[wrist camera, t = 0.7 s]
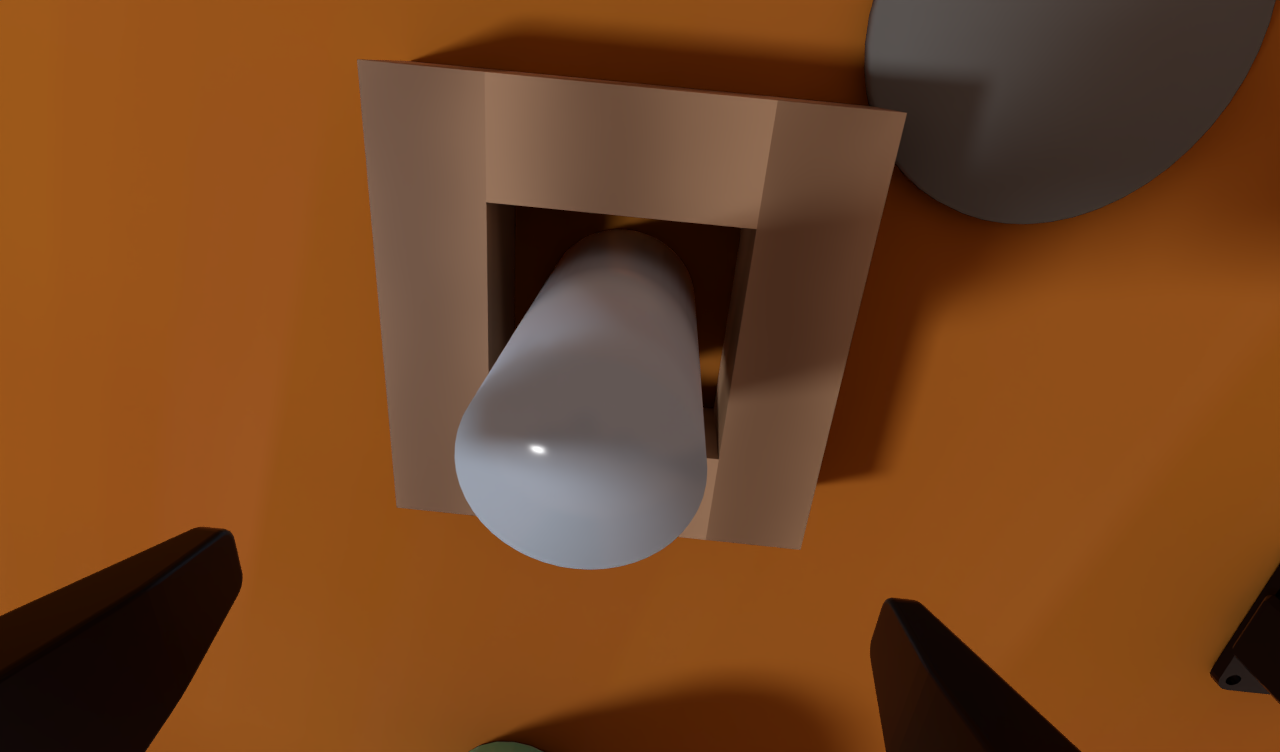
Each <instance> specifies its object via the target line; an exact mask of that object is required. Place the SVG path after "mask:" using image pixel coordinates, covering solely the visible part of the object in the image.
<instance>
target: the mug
mask: <svg viewBox="0 0 1280 752" xmlns="http://www.w3.org/2000/svg"><path fill="white" fill-rule="evenodd" d="M469 752H543V751H541V750H539V749H537V748H535V747H533V746H529V745H525V744H521V743H517V742H493V743H489V744H484V745H480V746H478V747H476V748H474V749H473V750H471V751H469Z"/></svg>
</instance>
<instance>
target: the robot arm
mask: <svg viewBox="0 0 1280 752" xmlns="http://www.w3.org/2000/svg"><path fill="white" fill-rule="evenodd" d="M241 586H242V570H241V566H240V561H239V557H238V553H237V548H236V544H235V540H234V537H233V535H232V533H231V532H230V531H228V530H226V529H220V528H210V527H197V528H194V529H191V530H189V531H187V532H185V533H182V534H180V535H178V536H176V537H174V538H171V539H169V540H167V541H165V542H162V543H160V544H158V545H156V546H154V547H151V548H149V549H147V550H145V551H143V552H140V553H138V554H136V555H134V556H132V557H129V558H127V559H125V560H123V561H121V562H118V563H116V564H114V565H112V566H110V567H107V568H105V569H103V570H101V571H98V572H96V573H94V574H92V575H90V576H87V577H85V578H83V579H81V580H79V581H76V582H74V583H72V584H70V585H68V586H65V587H63V588H61V589H59V590H57V591H54V592H52V593H50V594H48V595H46V596H43V597H41V598H39V599H37V600H34V601H32V602H30V603H28V604H26V605H23V606H21V607H19V608H17V609H15V610H12V611H10V612H8V613H6V614H4V615H1V616H0V752H145V751H146V750H147V748H148V747H149V745H150V744H151V742H152V741H153V739H154V738H155V736H156V735H157V734H158V732H159V731H160V729H161V728H162V726H163V725H164V723H165V722H166V720H167V719H168V717H169V716H170V714H171V713H172V711H173V710H174V708H175V706H176V705H177V703H178V702H179V700H180V699H181V697H182V695H183V694H184V692H185V690H186V689H187V687H188V685H189V683H190V682H191V680H192V678H193V676H194V675H195V673H196V671H197V669H198V667H199V665H200V664H201V662H202V660H203V658H204V656H205V654H206V653H207V651H208V649H209V647H210V645H211V643H212V642H213V640H214V638H215V636H216V634H217V632H218V631H219V629H220V627H221V625H222V623H223V621H224V620H225V618H226V616H227V614H228V612H229V611H230V609H231V607H232V605H233V603H234V601H235V600H236V598H237V596H238V594H239V592H240V589H241ZM870 658H871V665H872V671H873V677H874V683H875V689H876V695H877V701H878V707H879V713H880V719H881V725H882V731H883V736H884V742H885V748H886V752H1081V751H1080V750H1079V749H1078V748H1077V747H1076V746H1075V745H1074V744H1072V743H1071V742H1070V741H1069V740H1068V739H1067V738H1066V737H1065V736H1064V735H1063V734H1062V733H1061V732H1059V731H1058V730H1057V729H1056V728H1055V727H1054V726H1053V725H1052V724H1051V723H1050V722H1049V721H1048V720H1047V719H1045V718H1044V717H1043V716H1042V715H1041V714H1040V713H1039V712H1038V711H1037V710H1036V709H1035V708H1034V707H1033V706H1031V705H1030V704H1029V703H1028V702H1027V701H1026V700H1025V699H1024V698H1023V697H1022V696H1021V695H1020V694H1018V693H1017V692H1016V691H1015V690H1014V689H1013V688H1012V687H1011V686H1010V685H1009V684H1008V683H1007V682H1006V681H1004V680H1003V679H1002V678H1001V677H1000V676H999V675H998V674H997V673H996V672H995V671H994V670H993V669H992V668H990V667H989V666H988V665H987V664H986V663H985V662H984V661H983V660H982V659H981V658H980V657H979V656H977V655H976V654H975V653H974V652H973V651H972V650H971V649H970V648H969V647H968V646H967V645H966V644H965V643H963V642H962V641H961V640H960V639H959V638H958V637H957V636H956V635H955V634H954V633H953V632H952V631H951V630H949V629H948V628H947V627H946V626H945V625H944V624H943V623H942V622H941V621H940V620H939V619H938V618H936V617H935V616H934V615H933V614H932V613H931V612H930V611H929V610H928V609H927V608H926V607H925V606H924V605H922V604H921V603H920V602H918V601H915V600H909V599H900V598H889V599H887V600H886V601H885V602H884V603H883V606H882V608H881V612H880V615H879V618H878V621H877V624H876V627H875V630H874V633H873V637H872V640H871V645H870ZM1210 675H1211V677H1212V678H1213V680H1214V681H1215V682H1216V683H1217V684H1218V685H1219V686H1220V687H1221V688H1222V689H1226V690H1234V691H1243V692H1253V693H1262V694H1271V695H1272V696H1273V697H1274V698H1275V699H1276V701H1277V702H1278V703H1279V704H1280V565H1279V567H1278V568H1277V570H1276V571H1275V573H1274V574H1273V576H1272V577H1271V579H1270V580H1269V582H1268V583H1267V585H1266V587H1265V588H1264V590H1263V591H1262V593H1261V594H1260V596H1259V597H1258V599H1257V600H1256V602H1255V603H1254V605H1253V607H1252V608H1251V610H1250V611H1249V613H1248V614H1247V616H1246V617H1245V619H1244V620H1243V622H1242V623H1241V625H1240V626H1239V628H1238V630H1237V631H1236V633H1235V634H1234V636H1233V637H1232V639H1231V640H1230V642H1229V643H1228V645H1227V646H1226V648H1225V649H1224V651H1223V653H1222V654H1221V656H1220V657H1219V659H1218V660H1217V662H1216V663H1215V665H1214V666H1213V668H1212V669H1211V672H1210Z"/></svg>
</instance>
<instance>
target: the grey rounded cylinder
mask: <svg viewBox="0 0 1280 752" xmlns="http://www.w3.org/2000/svg"><path fill="white" fill-rule="evenodd" d="M455 466H456V473H457V477H458V480H459V484H460V487H461V489H462V492H463V494H464V496H465V498H466V500H467V502H468V504H469V505H470V507H471V509H472V510H473V512H474V513H475V514H476V516H477V517H478V518H479V519H480V521H481V522H482V523H483V524H484V525H485V526H486V527H487V528H488V529H489V530H490V531H491V532H492V533H493V534H494V535H496V536H497V537H498V538H499V539H501V540H502V541H503V542H504V543H506V544H508V545H509V546H511V547H512V548H514V549H515V550H517V551H519V552H521V553H523V554H525V555H527V556H529V557H531V558H534V559H537V560H540V561H542V562H545V563H549V564H553V565H556V566H561V567H567V568H574V569H607V568H613V567H619V566H623V565H627V564H631V563H634V562H637V561H639V560H642V559H644V558H647V557H649V556H651V555H653V554H655V553H656V552H658V551H660V550H662V549H663V548H664V547H666V546H667V545H669V544H670V543H671V542H673V541H674V540H675V539H676V538H677V537H678V536H679V535H680V534H681V533H682V532H683V531H684V530H685V528H686V527H687V526H688V525H689V523H690V522H691V521H692V519H693V517H694V516H695V514H696V512H697V511H698V509H699V506H700V504H701V501H702V499H703V496H704V491H705V487H706V481H707V457H706V443H705V430H704V416H703V402H702V388H701V374H700V360H699V347H698V333H697V319H696V305H695V292H694V287H693V283H692V280H691V277H690V274H689V272H688V270H687V269H686V267H685V265H684V263H683V262H682V261H681V259H680V258H679V257H678V256H677V255H676V253H675V252H674V251H673V250H672V249H670V248H669V247H668V246H667V245H666V244H664V243H663V242H661V241H659V240H658V239H656V238H654V237H652V236H650V235H647V234H645V233H641V232H638V231H633V230H625V229H614V230H606V231H601V232H597V233H594V234H592V235H589V236H587V237H585V238H583V239H582V240H580V241H578V242H577V243H576V244H574V245H573V246H572V247H571V248H570V249H568V250H567V251H566V252H565V254H564V255H563V256H562V257H561V259H560V260H559V261H558V263H557V265H556V266H555V268H554V269H553V271H552V273H551V274H550V276H549V277H548V279H547V281H546V282H545V284H544V286H543V287H542V289H541V290H540V292H539V294H538V295H537V297H536V298H535V300H534V302H533V303H532V305H531V306H530V308H529V310H528V311H527V313H526V314H525V316H524V318H523V319H522V321H521V322H520V324H519V326H518V327H517V329H516V330H515V332H514V334H513V335H512V337H511V338H510V340H509V342H508V343H507V345H506V346H505V348H504V350H503V351H502V353H501V354H500V356H499V358H498V359H497V361H496V362H495V364H494V366H493V367H492V369H491V370H490V372H489V374H488V375H487V377H486V378H485V380H484V382H483V383H482V385H481V386H480V388H479V390H478V391H477V393H476V394H475V396H474V398H473V399H472V401H471V402H470V404H469V406H468V408H467V410H466V411H465V413H464V415H463V417H462V420H461V422H460V425H459V428H458V431H457V436H456V441H455Z"/></svg>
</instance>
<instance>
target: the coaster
mask: <svg viewBox="0 0 1280 752" xmlns="http://www.w3.org/2000/svg"><path fill="white" fill-rule="evenodd" d="M1274 4H1275V0H873V4H872V8H871V11H870V15H869V21H868V28H867V34H866V41H865V65H864V70H865V81H866V92H867V97H868V102H869V106H873V107H878V108H884V109H889V110H894V111H899V112H905V113H907V115H906V119H905V123H904V127H903V132H902V136H901V140H900V144H899V148H898V152H897V156H896V160H895V164H896V165H897V166H898V167H899V169H900V170H901V171H902V173H903V174H904V175H905V176H906V177H907V178H908V179H909V180H910V181H911V182H913V183H914V184H915V185H916V186H917V187H918V188H919V189H920V190H922V191H923V192H925V193H926V194H928V195H929V196H931V197H932V198H933V199H935V200H937V201H939V202H941V203H943V204H945V205H947V206H949V207H951V208H953V209H955V210H957V211H959V212H961V213H963V214H966V215H970V216H973V217H976V218H979V219H982V220H988V221H994V222H1000V223H1009V224H1034V223H1044V222H1053V221H1057V220H1062V219H1067V218H1071V217H1075V216H1078V215H1081V214H1084V213H1087V212H1090V211H1093V210H1096V209H1099V208H1101V207H1103V206H1106V205H1108V204H1110V203H1112V202H1114V201H1117V200H1119V199H1121V198H1123V197H1125V196H1126V195H1128V194H1130V193H1132V192H1133V191H1135V190H1137V189H1138V188H1140V187H1142V186H1144V185H1145V184H1147V183H1148V182H1150V181H1151V180H1152V179H1154V178H1155V177H1156V176H1158V175H1159V174H1161V173H1162V172H1163V171H1165V170H1166V169H1168V168H1169V167H1170V166H1171V165H1172V164H1173V163H1175V162H1176V161H1177V160H1178V159H1179V158H1180V157H1181V156H1182V155H1184V154H1185V153H1186V152H1187V151H1188V150H1189V149H1190V148H1191V147H1192V146H1193V145H1194V144H1195V143H1196V142H1197V141H1198V140H1199V139H1200V138H1201V137H1202V136H1203V135H1204V134H1205V132H1206V131H1207V130H1208V129H1209V128H1210V127H1211V126H1212V125H1213V123H1214V122H1215V121H1216V119H1217V118H1218V117H1219V116H1220V114H1221V113H1222V112H1223V110H1224V109H1225V108H1226V107H1227V105H1228V104H1229V103H1230V101H1231V99H1232V98H1233V96H1234V95H1235V93H1236V92H1237V90H1238V88H1239V87H1240V85H1241V84H1242V82H1243V81H1244V79H1245V77H1246V75H1247V73H1248V71H1249V69H1250V67H1251V65H1252V63H1253V61H1254V59H1255V57H1256V55H1257V53H1258V52H1259V49H1260V47H1261V44H1262V41H1263V39H1264V36H1265V33H1266V31H1267V28H1268V26H1269V23H1270V19H1271V16H1272V12H1273V8H1274Z"/></svg>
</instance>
